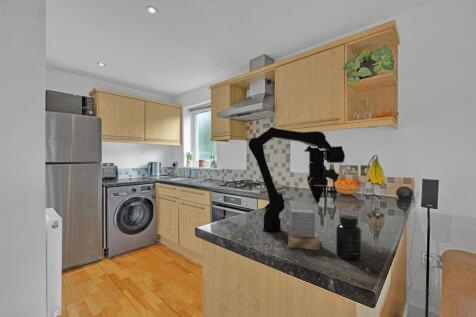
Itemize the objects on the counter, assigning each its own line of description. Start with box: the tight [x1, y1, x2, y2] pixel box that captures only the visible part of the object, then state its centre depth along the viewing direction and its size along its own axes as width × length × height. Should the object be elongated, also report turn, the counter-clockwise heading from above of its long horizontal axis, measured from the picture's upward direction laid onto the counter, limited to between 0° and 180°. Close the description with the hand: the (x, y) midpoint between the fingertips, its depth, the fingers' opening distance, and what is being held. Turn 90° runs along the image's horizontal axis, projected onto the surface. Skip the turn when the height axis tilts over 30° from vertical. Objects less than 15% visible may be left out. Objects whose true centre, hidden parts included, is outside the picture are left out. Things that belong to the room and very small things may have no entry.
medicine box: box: [290, 209, 316, 238], centre depth 78 cm, size 8×4×9 cm, turn 79°
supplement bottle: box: [335, 214, 362, 262], centre depth 67 cm, size 7×7×12 cm
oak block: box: [287, 230, 321, 251], centre depth 78 cm, size 10×10×3 cm
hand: (316, 200), depth 91 cm, fingers open, 9 cm apart
